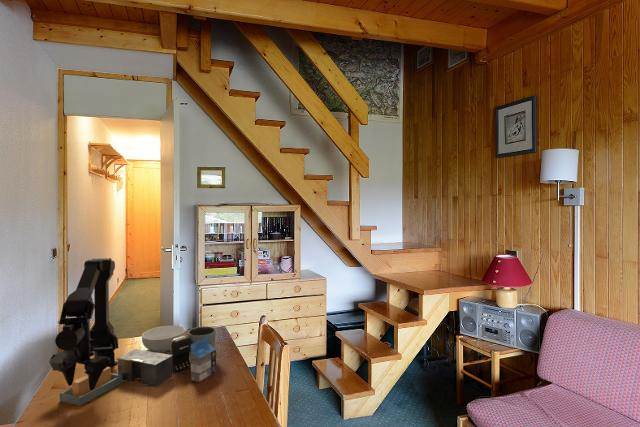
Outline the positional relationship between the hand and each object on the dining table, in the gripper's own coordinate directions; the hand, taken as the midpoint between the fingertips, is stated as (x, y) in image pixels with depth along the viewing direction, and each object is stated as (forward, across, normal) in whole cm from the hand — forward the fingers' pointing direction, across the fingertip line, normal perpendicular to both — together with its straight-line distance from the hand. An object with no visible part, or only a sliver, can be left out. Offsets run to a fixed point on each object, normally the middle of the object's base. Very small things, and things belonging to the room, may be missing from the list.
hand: (81, 387), depth 127 cm
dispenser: (+3, +9, +17) cm, 20 cm away
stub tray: (+3, 0, +4) cm, 5 cm away
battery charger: (+3, +16, +27) cm, 32 cm away
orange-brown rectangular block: (+2, 0, +4) cm, 5 cm away
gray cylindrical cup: (+3, +19, +35) cm, 40 cm away
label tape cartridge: (+3, +27, +25) cm, 37 cm away
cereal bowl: (+3, -4, +41) cm, 42 cm away
